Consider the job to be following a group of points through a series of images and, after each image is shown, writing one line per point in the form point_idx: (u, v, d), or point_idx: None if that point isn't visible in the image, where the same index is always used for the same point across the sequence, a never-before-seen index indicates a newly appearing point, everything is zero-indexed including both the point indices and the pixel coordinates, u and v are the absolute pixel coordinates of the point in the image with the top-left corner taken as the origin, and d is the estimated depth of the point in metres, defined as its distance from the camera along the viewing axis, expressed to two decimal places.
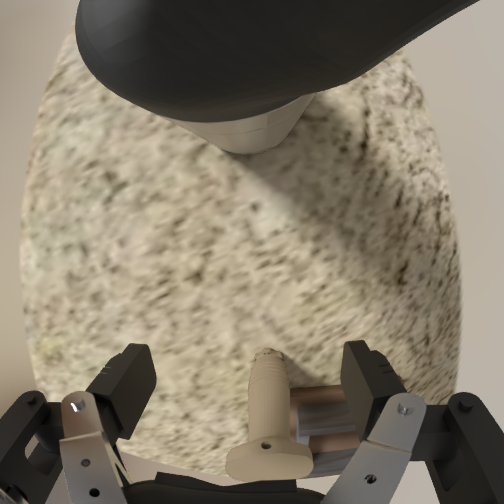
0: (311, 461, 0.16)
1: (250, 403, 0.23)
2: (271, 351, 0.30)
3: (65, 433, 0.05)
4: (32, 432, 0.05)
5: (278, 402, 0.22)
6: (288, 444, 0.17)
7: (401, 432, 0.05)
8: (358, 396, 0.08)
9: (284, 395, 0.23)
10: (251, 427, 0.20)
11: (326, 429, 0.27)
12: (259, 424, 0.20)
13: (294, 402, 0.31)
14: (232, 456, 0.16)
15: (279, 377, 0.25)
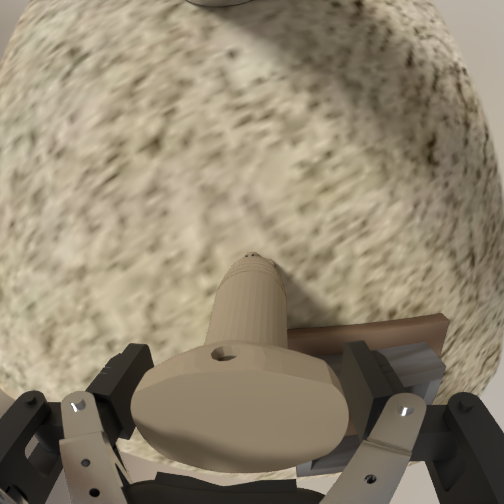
0: (344, 405, 0.07)
1: (213, 309, 0.14)
2: (257, 255, 0.20)
3: (65, 433, 0.05)
4: (32, 432, 0.05)
5: (264, 299, 0.13)
6: (281, 353, 0.07)
7: (401, 433, 0.05)
8: (358, 396, 0.08)
9: (275, 295, 0.14)
10: (206, 342, 0.11)
11: None
12: (220, 330, 0.10)
13: (295, 349, 0.21)
14: (144, 383, 0.07)
15: (266, 273, 0.16)
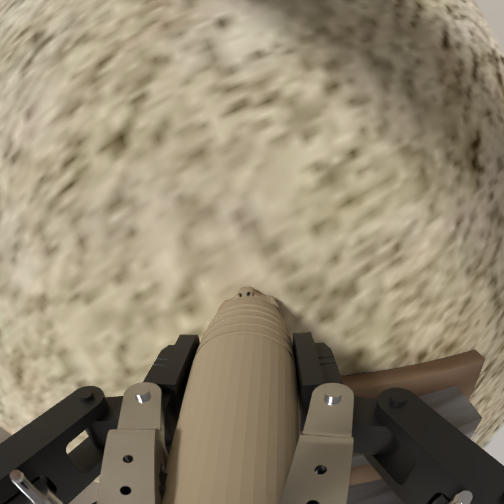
0: None
1: (184, 397, 0.08)
2: (255, 292, 0.15)
3: (119, 423, 0.06)
4: (80, 430, 0.06)
5: (263, 396, 0.07)
6: None
7: (335, 421, 0.06)
8: (298, 384, 0.09)
9: (282, 379, 0.08)
10: None
11: None
12: (186, 468, 0.05)
13: None
14: None
15: (268, 333, 0.10)
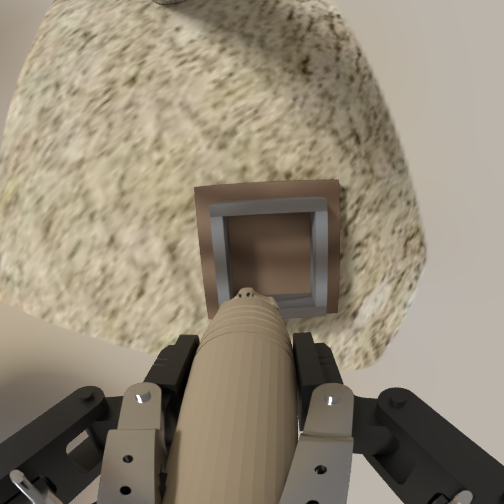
0: None
1: (184, 398, 0.08)
2: (254, 293, 0.15)
3: (119, 423, 0.06)
4: (80, 430, 0.06)
5: (263, 397, 0.07)
6: None
7: (335, 421, 0.06)
8: (298, 384, 0.09)
9: (281, 380, 0.08)
10: None
11: (240, 204, 0.28)
12: (185, 468, 0.05)
13: (212, 194, 0.31)
14: None
15: (267, 333, 0.10)
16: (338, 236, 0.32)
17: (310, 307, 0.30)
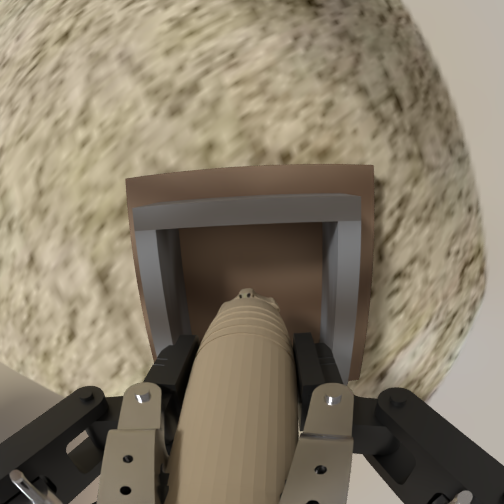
0: None
1: (184, 399, 0.08)
2: (255, 293, 0.15)
3: (119, 423, 0.06)
4: (80, 430, 0.06)
5: (263, 398, 0.07)
6: None
7: (335, 421, 0.06)
8: (298, 384, 0.09)
9: (282, 381, 0.08)
10: None
11: (187, 206, 0.14)
12: (187, 470, 0.05)
13: (152, 190, 0.18)
14: None
15: (268, 334, 0.10)
16: (370, 263, 0.18)
17: None
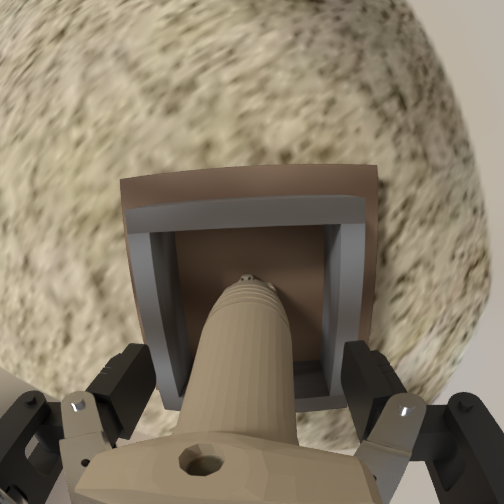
0: None
1: (197, 353, 0.10)
2: (255, 278, 0.17)
3: (65, 433, 0.05)
4: (32, 432, 0.05)
5: (264, 345, 0.09)
6: (294, 460, 0.04)
7: (401, 433, 0.05)
8: (358, 396, 0.08)
9: (279, 337, 0.10)
10: (183, 406, 0.07)
11: (182, 208, 0.13)
12: (202, 395, 0.07)
13: (147, 190, 0.17)
14: (87, 479, 0.03)
15: (267, 304, 0.12)
16: (373, 267, 0.17)
17: (319, 398, 0.15)
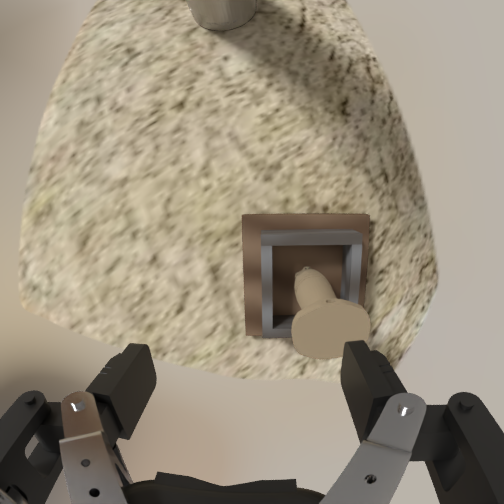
0: (369, 320, 0.21)
1: (302, 294, 0.28)
2: (310, 268, 0.35)
3: (65, 433, 0.05)
4: (32, 432, 0.05)
5: (328, 288, 0.27)
6: (348, 301, 0.22)
7: (401, 432, 0.05)
8: (358, 396, 0.08)
9: (330, 287, 0.28)
10: (308, 305, 0.25)
11: (288, 236, 0.31)
12: (316, 299, 0.25)
13: (258, 223, 0.35)
14: (301, 314, 0.22)
15: (323, 277, 0.30)
16: (366, 264, 0.36)
17: None
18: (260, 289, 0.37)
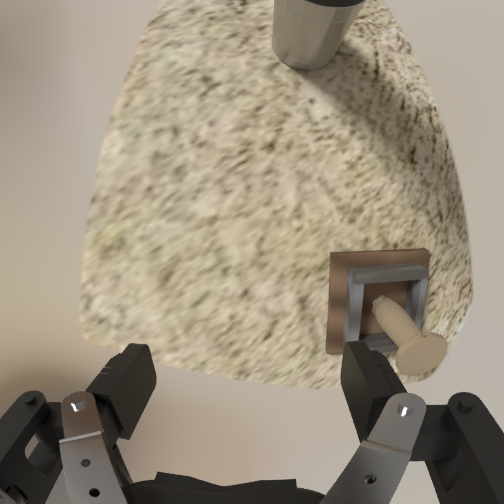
0: (446, 345, 0.25)
1: (391, 324, 0.32)
2: None
3: (65, 433, 0.05)
4: (32, 432, 0.05)
5: (410, 319, 0.31)
6: (434, 333, 0.26)
7: (401, 432, 0.05)
8: (358, 396, 0.08)
9: None
10: (401, 335, 0.29)
11: (377, 275, 0.35)
12: (407, 331, 0.29)
13: (345, 261, 0.39)
14: (406, 347, 0.26)
15: (401, 307, 0.35)
16: None
17: None
18: (343, 315, 0.41)
